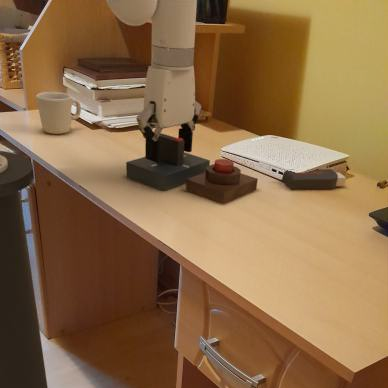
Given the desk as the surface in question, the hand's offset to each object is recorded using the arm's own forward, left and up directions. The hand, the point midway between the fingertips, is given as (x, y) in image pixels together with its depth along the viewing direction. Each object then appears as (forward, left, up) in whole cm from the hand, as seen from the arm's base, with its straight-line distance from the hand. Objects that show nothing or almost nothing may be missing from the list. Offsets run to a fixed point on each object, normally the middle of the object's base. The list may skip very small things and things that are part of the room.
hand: (169, 155), depth 102 cm
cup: (+4, +38, -4) cm, 38 cm away
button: (+2, -12, 0) cm, 12 cm away
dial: (0, 0, -1) cm, 1 cm away
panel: (0, 0, -4) cm, 4 cm away
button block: (+2, -12, -4) cm, 13 cm away
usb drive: (+19, -23, -4) cm, 30 cm away
